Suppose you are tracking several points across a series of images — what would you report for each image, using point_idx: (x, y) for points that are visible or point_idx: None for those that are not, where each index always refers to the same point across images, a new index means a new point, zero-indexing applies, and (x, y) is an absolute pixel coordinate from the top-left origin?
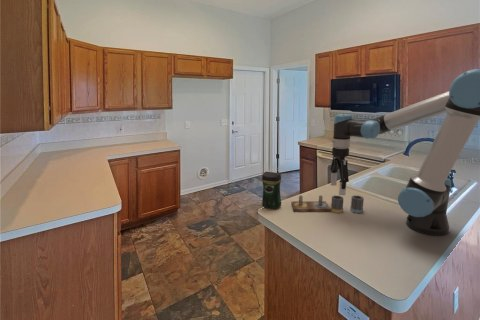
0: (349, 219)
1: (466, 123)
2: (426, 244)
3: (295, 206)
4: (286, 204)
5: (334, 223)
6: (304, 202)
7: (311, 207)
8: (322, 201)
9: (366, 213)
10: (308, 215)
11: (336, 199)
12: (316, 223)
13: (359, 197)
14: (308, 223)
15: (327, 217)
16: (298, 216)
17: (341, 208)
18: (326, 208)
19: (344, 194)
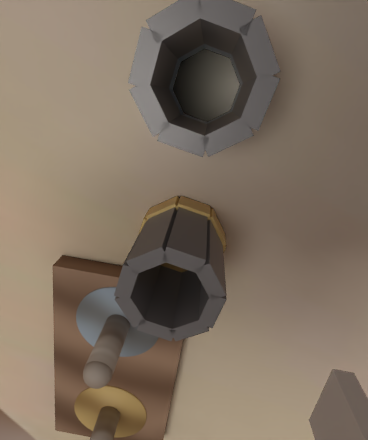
0: (334, 223)
1: None
2: None
3: (127, 436)
4: None
5: (350, 328)
6: (71, 382)
7: (150, 378)
8: (56, 286)
9: (279, 25)
10: (216, 397)
11: (213, 325)
12: (316, 400)
13: (178, 34)
14: (304, 427)
15: (265, 328)
16: (217, 434)
17: (216, 234)
18: None
19: (354, 390)
